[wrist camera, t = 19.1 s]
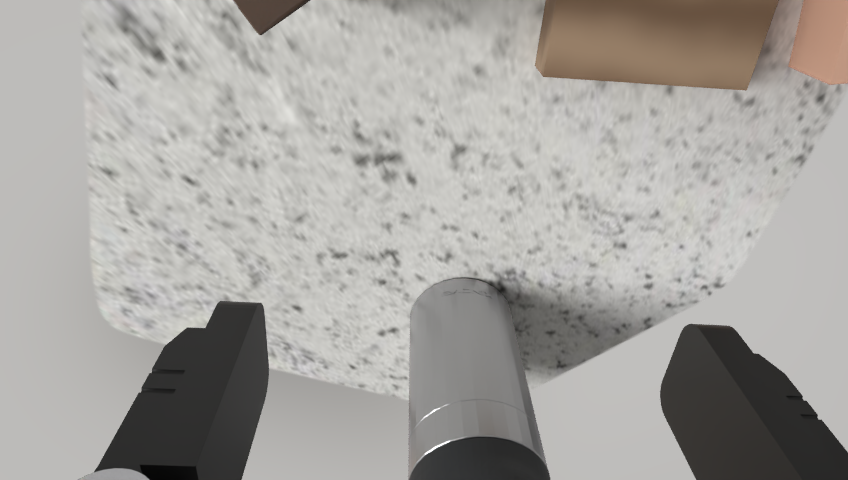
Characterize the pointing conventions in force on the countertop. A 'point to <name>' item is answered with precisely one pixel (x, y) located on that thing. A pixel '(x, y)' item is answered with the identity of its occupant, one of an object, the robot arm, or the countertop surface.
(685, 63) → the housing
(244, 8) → the coffee box
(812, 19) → the cover
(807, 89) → the countertop surface
